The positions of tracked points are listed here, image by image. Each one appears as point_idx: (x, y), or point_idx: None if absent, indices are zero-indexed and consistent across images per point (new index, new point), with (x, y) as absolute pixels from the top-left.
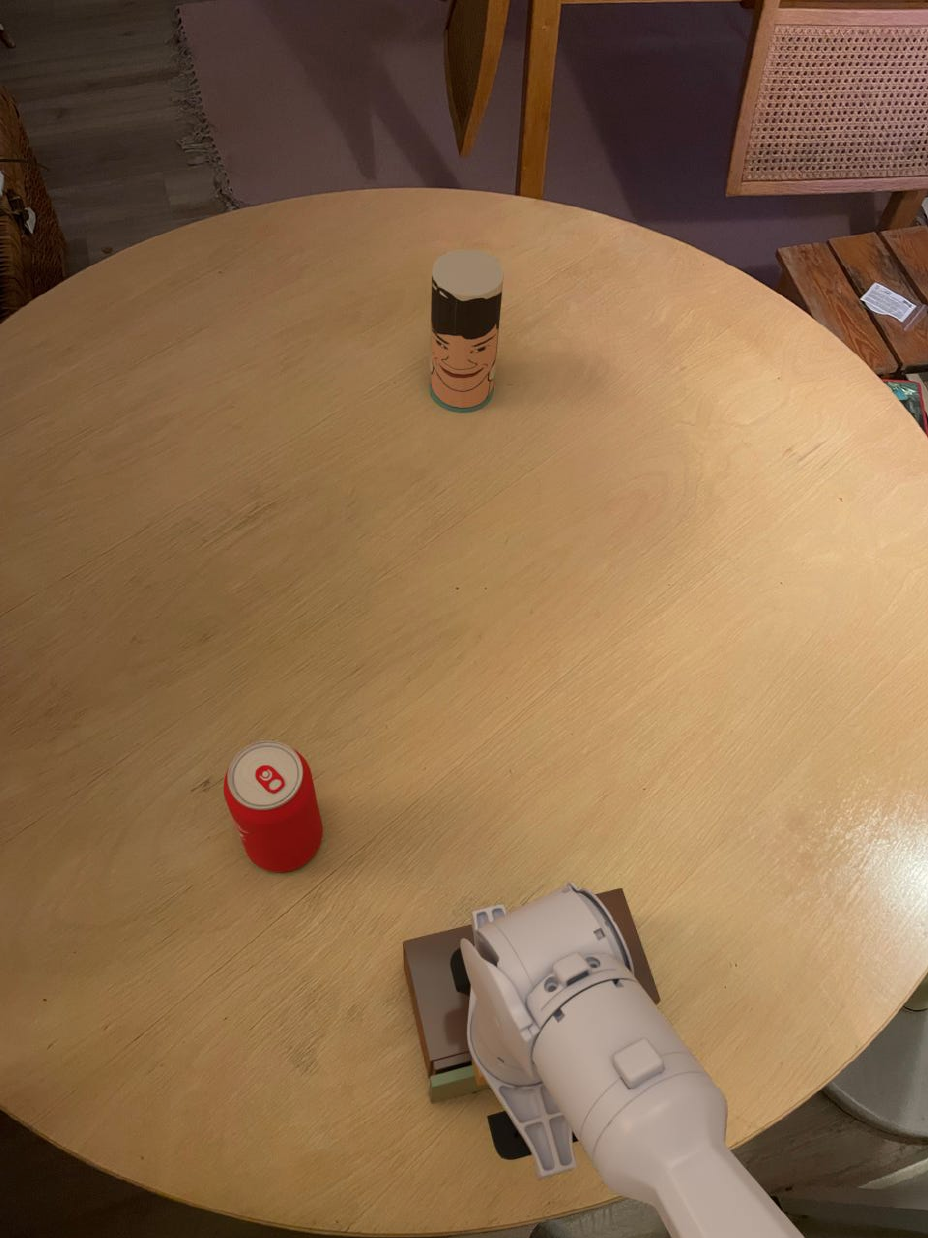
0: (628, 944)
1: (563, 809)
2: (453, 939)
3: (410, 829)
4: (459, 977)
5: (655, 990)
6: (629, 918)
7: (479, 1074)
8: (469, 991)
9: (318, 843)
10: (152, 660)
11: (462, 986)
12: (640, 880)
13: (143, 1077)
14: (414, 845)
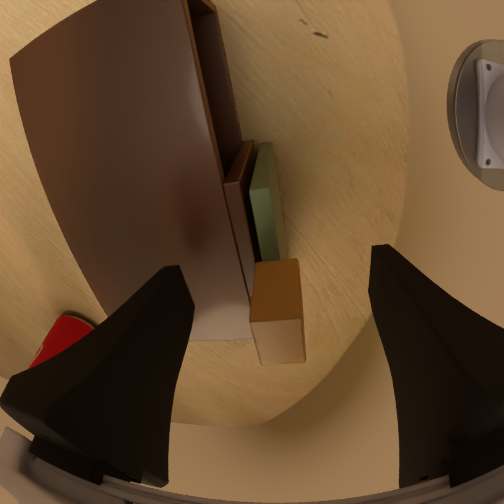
0: (75, 32)
1: (4, 113)
2: (105, 295)
3: (47, 252)
4: (142, 482)
5: None
6: (41, 38)
7: (298, 362)
8: (161, 457)
9: (76, 325)
10: (31, 361)
11: (157, 483)
12: (56, 22)
13: (245, 400)
14: (56, 250)
